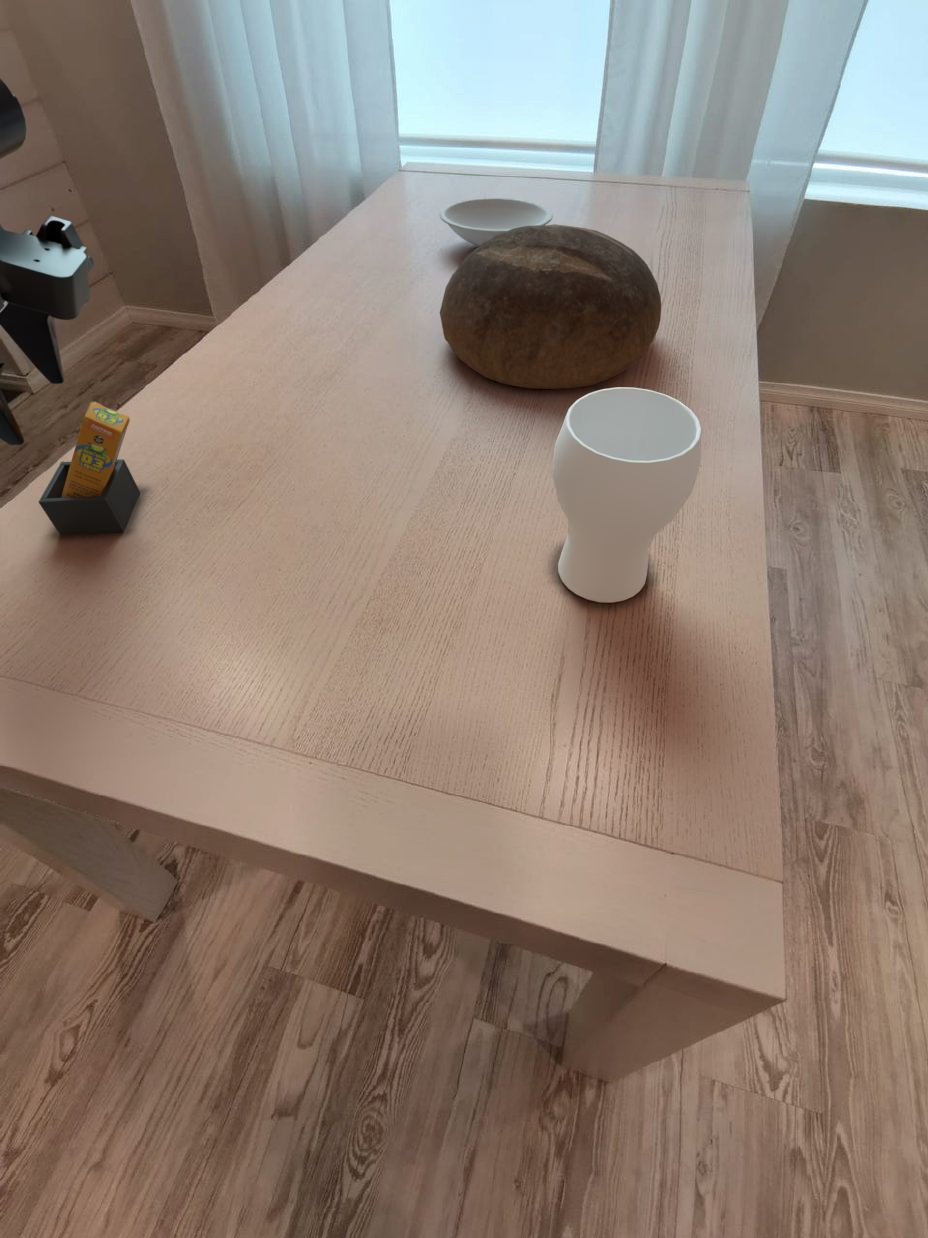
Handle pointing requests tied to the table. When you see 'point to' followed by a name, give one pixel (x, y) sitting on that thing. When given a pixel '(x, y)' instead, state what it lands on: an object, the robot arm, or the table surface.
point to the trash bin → (91, 503)
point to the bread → (551, 307)
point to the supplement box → (95, 451)
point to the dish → (492, 217)
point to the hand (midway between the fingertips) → (39, 411)
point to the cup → (621, 485)
